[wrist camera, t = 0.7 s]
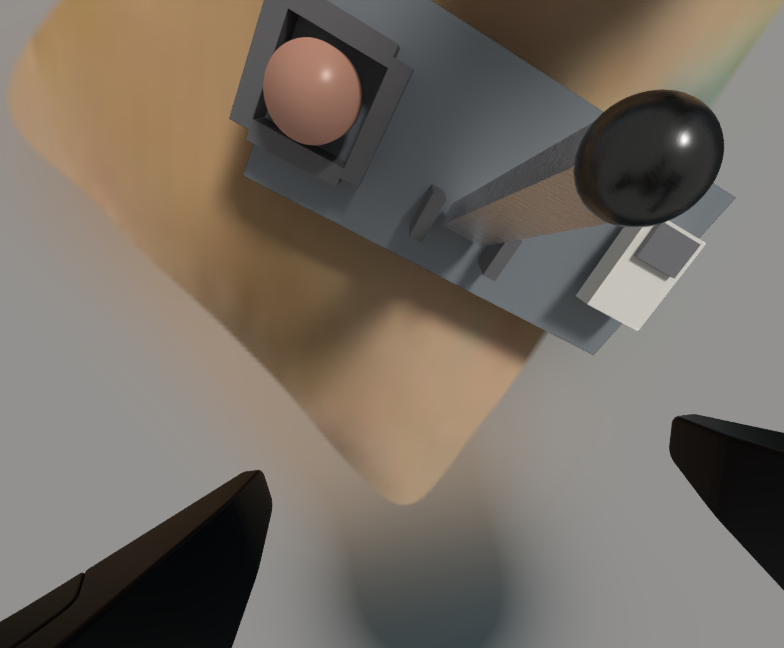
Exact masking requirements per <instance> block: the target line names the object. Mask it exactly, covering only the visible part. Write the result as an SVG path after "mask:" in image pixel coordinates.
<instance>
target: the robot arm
mask: <svg viewBox="0 0 784 648" xmlns="http://www.w3.org/2000/svg"><path fill="white" fill-rule="evenodd" d="M669 451H670V455H671V457H672V460H673V461H674V463H675V464H676V465H677V467H678V468H679V469H680V471H681V472H682V473H683V474H684V475H685V477H686V478H687V480H688V481H689V483H690V484H691V485H692V486H693V488H694V489H695V490H696V492H697V493H698V494H699V496H700V497H701V498H702V500H703V501H704V502H705V504H706V505H707V506H708V507H709V509H710V510H711V511H712V512H713V514H714V515H715V516H716V517H717V518H718V519H719V521H720V522H721V523H722V524H723V525H724V526H725V527H726V529H727V530H728V531H729V532H730V533H731V534H732V535H733V536H734V537H735V538H736V539H737V540H738V541H739V542H740V544H741V545H742V546H743V547H744V548H745V549H746V550H747V551H748V552H749V553H750V554H751V556H752V557H753V558H754V559H755V560H756V561H757V562H758V563H759V564H760V565H761V566H762V567H763V568H764V570H765V571H766V572H767V573H768V574H769V575H770V576H771V577H772V578H773V579H774V580H775V581H776V582H777V583H778V585H779V586H780V587H781V588H782V589H783V590H784V433H781V432H777V431H772V430H768V429H763V428H758V427H753V426H748V425H743V424H739V423H734V422H730V421H724V420H720V419H715V418H711V417H706V416H701V415H696V414H691V415H682V416H677V417H675V418H674V419H673V421H672V427H671V436H670V445H669ZM271 512H272V498H271V495H270V492H269V489H268V486H267V482H266V479H265V476H264V474H263V472H262V471H260V470H254V471H246V472H243V473H241V474H239V475H238V476H236V477H235V478H233V479H232V480H230V481H228V482H227V483H225V484H223V485H222V486H220V487H219V488H217V489H215V490H214V491H212V492H211V493H209V494H207V495H206V496H204V497H203V498H201V499H199V500H198V501H196V502H195V503H193V504H191V505H190V506H188V507H187V508H185V509H184V510H182V511H180V512H179V513H177V514H175V515H174V516H172V517H171V518H169V519H167V520H166V521H164V522H163V523H161V524H160V525H158V526H156V527H155V528H153V529H151V530H150V531H148V532H147V533H145V534H144V535H142V536H140V537H139V538H137V539H136V540H134V541H133V542H131V543H129V544H128V545H126V546H124V547H123V548H121V549H120V550H118V551H116V552H115V553H113V554H112V555H110V556H108V557H107V558H105V559H104V560H102V561H100V562H99V563H97V564H96V565H94V566H93V567H91V568H89V569H88V570H87V571H86V572H85V574H84V573H80V574H78V575H77V576H75V577H73V578H72V579H70V580H69V581H67V582H66V583H64V584H62V585H61V586H59V587H57V588H56V589H54V590H52V591H51V592H49V593H48V594H46V595H45V596H43V597H41V598H39V599H38V600H36V601H34V602H33V603H31V604H29V605H28V606H26V607H25V608H23V609H21V610H19V611H18V612H16V613H14V614H13V615H11V616H9V617H8V618H6V619H4V620H2V621H1V622H0V648H232V645H233V642H234V640H235V637H236V634H237V631H238V628H239V625H240V622H241V620H242V617H243V614H244V611H245V608H246V605H247V602H248V599H249V596H250V593H251V590H252V588H253V585H254V582H255V579H256V576H257V573H258V569H259V565H260V561H261V557H262V553H263V548H264V544H265V539H266V535H267V530H268V525H269V522H270V517H271Z"/></svg>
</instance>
